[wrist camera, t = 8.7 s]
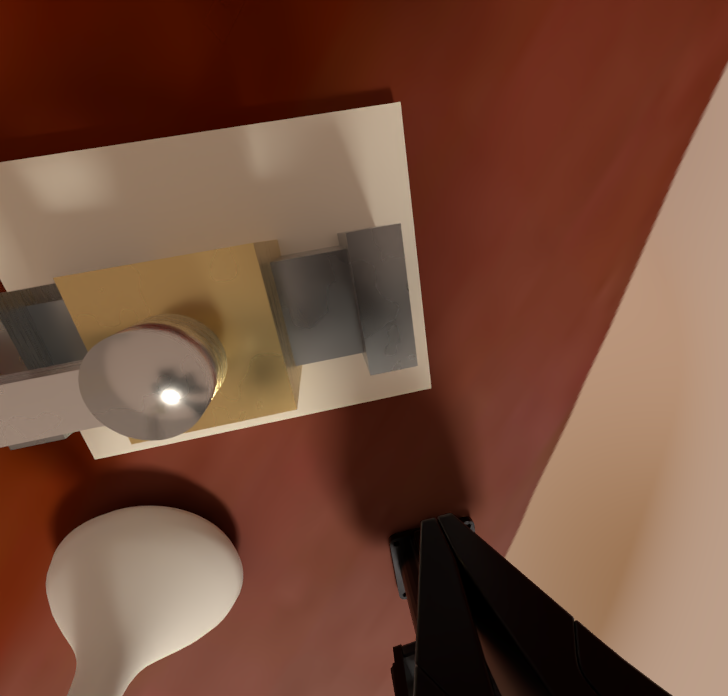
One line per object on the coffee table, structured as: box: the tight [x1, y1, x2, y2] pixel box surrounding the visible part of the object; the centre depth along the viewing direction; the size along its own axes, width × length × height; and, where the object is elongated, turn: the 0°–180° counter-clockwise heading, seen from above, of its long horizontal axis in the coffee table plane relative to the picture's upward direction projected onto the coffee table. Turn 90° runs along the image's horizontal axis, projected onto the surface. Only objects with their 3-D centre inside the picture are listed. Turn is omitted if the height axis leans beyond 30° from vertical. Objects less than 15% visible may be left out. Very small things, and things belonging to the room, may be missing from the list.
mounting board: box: [0, 102, 431, 459], centre depth 18 cm, size 15×20×1 cm
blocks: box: [0, 223, 418, 450], centre depth 15 cm, size 6×16×7 cm, turn 99°
